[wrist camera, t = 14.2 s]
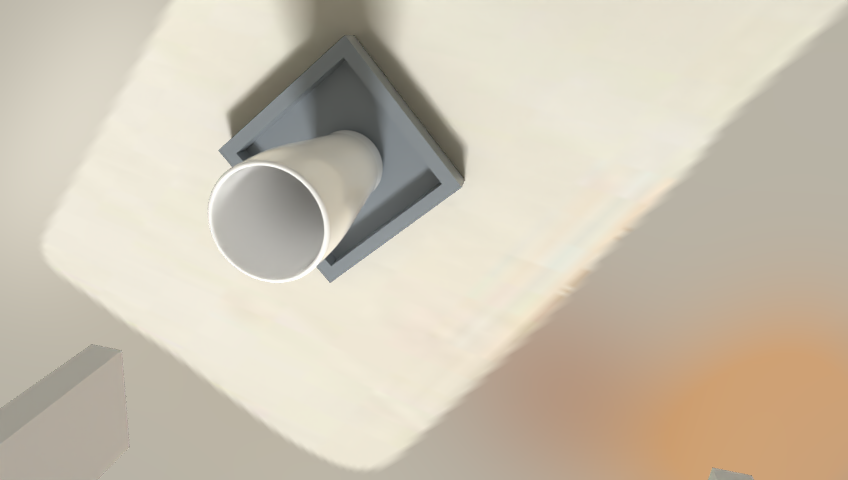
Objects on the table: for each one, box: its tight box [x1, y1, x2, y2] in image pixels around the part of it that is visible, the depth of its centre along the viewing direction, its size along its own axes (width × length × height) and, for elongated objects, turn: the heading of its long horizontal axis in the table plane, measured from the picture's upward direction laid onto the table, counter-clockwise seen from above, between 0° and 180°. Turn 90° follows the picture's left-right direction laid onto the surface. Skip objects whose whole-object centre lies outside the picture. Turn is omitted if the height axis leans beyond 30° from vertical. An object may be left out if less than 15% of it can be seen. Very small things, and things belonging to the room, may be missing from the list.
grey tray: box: [218, 35, 465, 283], centre depth 43 cm, size 13×13×2 cm
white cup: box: [208, 130, 383, 283], centre depth 36 cm, size 7×7×15 cm
